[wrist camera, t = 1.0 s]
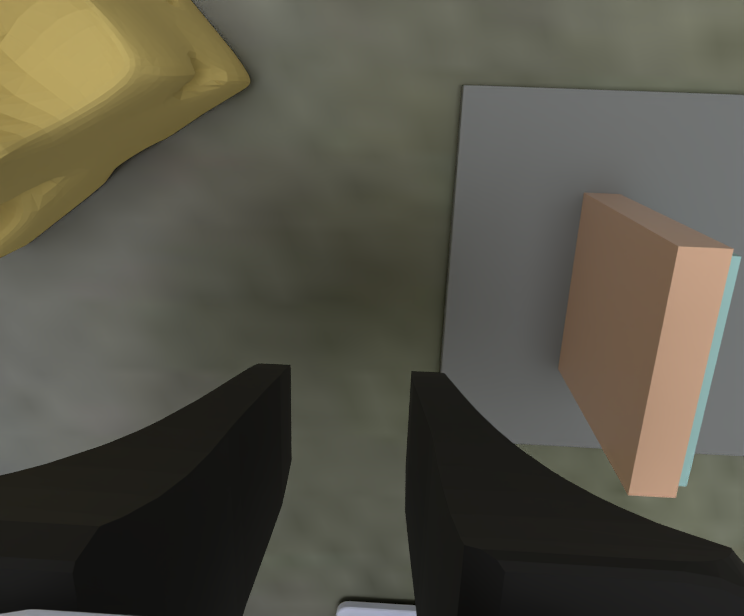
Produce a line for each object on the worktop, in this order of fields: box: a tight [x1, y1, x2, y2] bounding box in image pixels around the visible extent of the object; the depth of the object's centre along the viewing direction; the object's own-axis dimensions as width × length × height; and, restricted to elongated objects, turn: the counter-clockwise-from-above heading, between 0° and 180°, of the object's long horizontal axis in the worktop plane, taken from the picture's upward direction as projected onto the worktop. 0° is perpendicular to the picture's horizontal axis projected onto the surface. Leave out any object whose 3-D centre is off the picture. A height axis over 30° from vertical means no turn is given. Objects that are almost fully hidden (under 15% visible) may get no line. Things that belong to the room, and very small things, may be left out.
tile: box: [558, 193, 741, 498], centre depth 17 cm, size 6×1×7 cm, turn 178°
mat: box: [440, 85, 744, 456], centre depth 20 cm, size 12×13×1 cm
